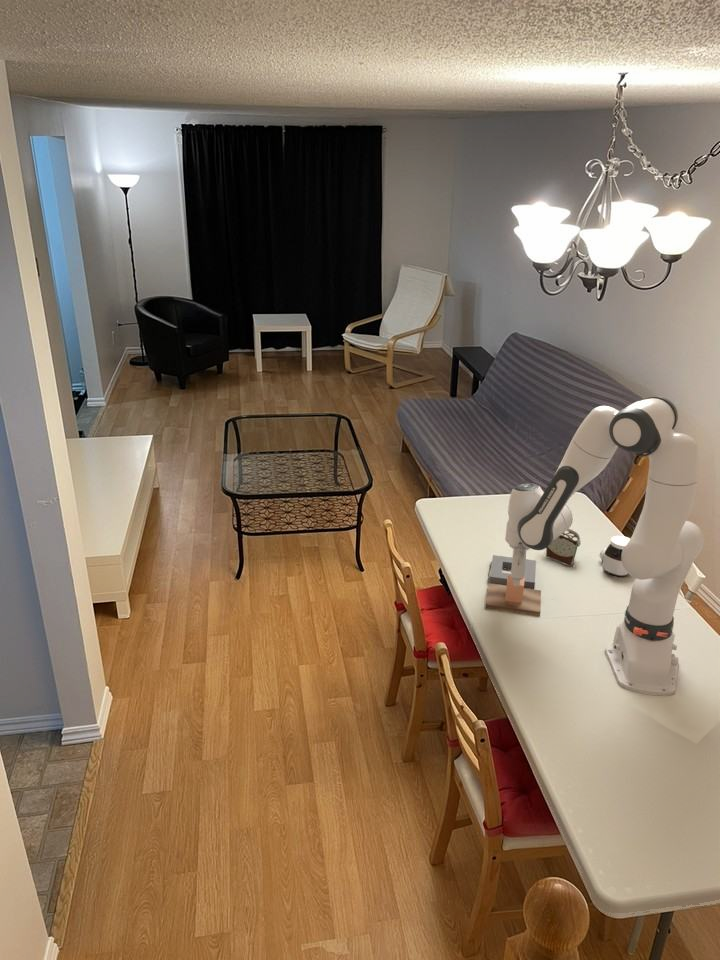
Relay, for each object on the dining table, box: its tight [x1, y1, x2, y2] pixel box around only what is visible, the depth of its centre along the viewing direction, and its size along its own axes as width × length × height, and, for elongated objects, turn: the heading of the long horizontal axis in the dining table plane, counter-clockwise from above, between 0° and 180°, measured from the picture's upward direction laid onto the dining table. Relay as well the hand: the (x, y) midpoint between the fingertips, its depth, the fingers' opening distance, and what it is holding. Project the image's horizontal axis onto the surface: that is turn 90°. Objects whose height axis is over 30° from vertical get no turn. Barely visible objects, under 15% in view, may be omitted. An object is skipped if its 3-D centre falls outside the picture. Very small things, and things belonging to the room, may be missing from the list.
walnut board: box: [484, 582, 542, 617], centre depth 223 cm, size 12×16×2 cm
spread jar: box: [599, 535, 631, 578], centre depth 240 cm, size 12×11×12 cm
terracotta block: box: [505, 575, 525, 603], centre depth 222 cm, size 5×5×6 cm
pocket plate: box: [488, 554, 537, 590], centre depth 237 cm, size 14×14×2 cm
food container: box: [545, 528, 582, 567], centre depth 246 cm, size 12×6×10 cm, turn 47°
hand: (516, 576), depth 220 cm, fingers open, 8 cm apart
